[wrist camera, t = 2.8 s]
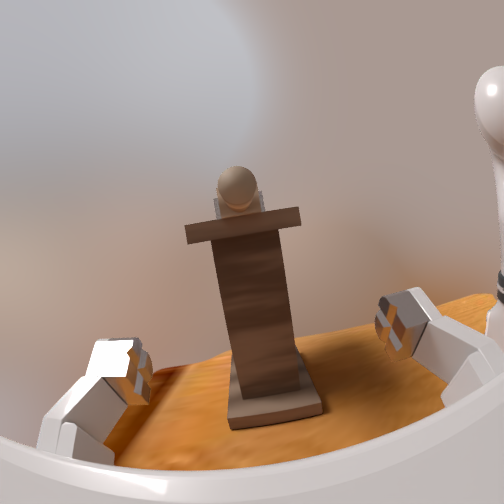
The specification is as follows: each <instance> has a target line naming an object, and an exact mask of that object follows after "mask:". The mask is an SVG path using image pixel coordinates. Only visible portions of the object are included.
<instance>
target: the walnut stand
mask: <svg viewBox="0 0 504 504" xmlns="http://www.w3.org/2000/svg"><path fill="white" fill-rule="evenodd" d="M294 226H301V219H300V213H299V207H292V208H285V209H279V210H272V211H265V212H259V213H253V214H247V215H241V216H235V217H229V218H223V219H217V220H212V221H206V222H201V223H195V224H190V225H185V230H186V237H187V243H188V244H193V243H199V242H204V241H210V240H211V245H212V250H213V256H214V262H215V267H216V273H217V278H218V284H219V289H220V294H221V299H222V305H223V310H224V315H225V320H226V325H227V330H228V335H229V339H230V344H231V349H232V354H233V355H232V360H231V374H230V387H229V401H228V416H227V419H228V423H229V426H230V429H239V428H247V427H255V426H262V425H268V424H274V423H280V422H286V421H291V420H296V419H301V418H305V417H310V416H314V415H319V414H322V402H321V400H320V397H319V395H318V393H317V391H316V389H315V386H314V384H313V382H312V380H311V378H310V376H309V373H308V371H307V369H306V367H305V365H304V362H303V360H302V358H301V356H300V354H299V351H298V349H297V347H296V345H295V341H294V333H293V326H292V319H291V312H290V304H289V297H288V291H287V284H286V277H285V270H284V263H283V257H282V250H281V244H280V238H279V231H278V229H282V228H288V227H294Z"/></svg>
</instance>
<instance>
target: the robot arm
mask: <svg viewBox="0 0 504 504" xmlns="http://www.w3.org/2000/svg"><path fill="white" fill-rule="evenodd" d="M474 105H475V106H474V107H475V117H476V121H477V125H478V127H479V130H480V132H481V134H482V136H483V137H484V139H485V141H486V142H487V144H488V146H489V149H490V153H491V158H492V163H493V169H494V174H495V182H496V190H497V201H498V217H499V229H500V246H501V270H500V272H499V274H498V282H497V287H498V293H497V297H498V301H497V303H496V304H495V306H494V307H492V309H491V310H488V313H487V317H486V321H487V325H486V331H485V334H484V335H483V334H481V333H479V332H478V331H476V330H474V329H472V328H470V327H468V326H466V325H464V324H462V323H460V322H458V321H456V320H454V319H452V318H450V317H447V316H442V315H441V314H440V312H439V311H438V310H437V308H436V307H435V306H434V305H433V303H432V302H431V301H430V299H429V298H428V297H427V296H426V294H425V293H424V292H423V291H422V289H421V288H419V287H415V288H411V289H408V290H404V291H400V292H397V293H393V294H389V295H386V296H382V297H381V298H380V300H379V304H378V306H379V307H380V310H379V311H378V313H377V314H376V317H375V329H376V333H377V335H378V337H379V339H380V340H382V341H383V342H385V343H386V345H385V350H386V352H387V354H388V356H389V358H390V360H391V362H392V363H394V362H397V361H400V360H403V359H406V358H409V357H412V356H413V357H412V358H413V359H414V360H416V361H417V362H419V363H420V364H421V365H423V366H424V367H426V368H427V369H428V370H430V371H431V372H432V373H434V374H435V375H436V376H438V377H439V378H441V379H442V380H443V381H445V382H446V383H447V384H448V386H447V387H446V388H445V390H444V391H443V392H442V394H441V399H442V401H443V403H444V405H445V407H446V408H444V409H442V410H440V411H438V412H436V413H434V414H432V415H430V416H428V417H426V418H424V419H421V420H419V421H417V422H415V423H413V424H410V425H408V426H406V427H403V428H401V429H398V430H396V431H393V432H391V433H388V434H386V435H383V436H380V437H378V438H375V439H372V440H369V441H366V442H363V443H360V444H357V445H354V446H350V447H347V448H344V449H340V450H337V451H333V452H329V453H325V454H321V455H317V456H313V457H308V458H304V459H299V460H294V461H289V462H283V463H277V464H271V465H264V466H257V467H248V468H238V469H226V470H208V471H166V470H148V469H136V468H127V467H118V466H114V453H113V451H112V450H110V449H109V448H107V447H106V446H104V445H103V442H104V441H105V439H106V438H107V436H108V435H109V433H110V432H111V430H112V429H113V427H114V426H115V424H116V423H117V421H118V420H119V418H120V417H121V415H122V414H123V412H124V411H125V410H126V408H127V407H128V406H127V405H149V399H150V391H151V388H150V387H149V385H148V384H147V383H148V382H149V381H150V380H151V378H152V373H153V368H152V361H151V358H150V356H149V354H148V353H147V352H146V351H144V350H142V343H141V341H140V340H139V338H135V337H134V338H111V339H98V340H97V341H96V343H95V346H94V349H93V352H92V355H91V359H90V362H89V365H88V369H87V372H86V376H85V377H81V378H80V379H79V380H78V381H77V382H76V383H75V384H74V385H73V386H72V387H71V388H70V390H69V391H68V392H67V393H66V394H65V395H64V396H63V397H62V398H61V399H60V400H59V401H58V402H57V403H56V404H55V405H54V406H53V407H52V408H51V409H50V411H49V412H48V413H47V414H46V415H45V416H44V417H43V421H42V425H41V429H40V433H39V438H38V442H37V446H36V448H33V447H30V446H27V445H24V444H21V443H18V442H15V441H13V440H10V439H8V438H5V437H2V436H0V504H504V66H498V67H494V68H491V69H489V70H488V71H486V72H485V73H484V74H483V75H482V76H481V78H480V79H479V81H478V83H477V86H476V91H475V99H474Z"/></svg>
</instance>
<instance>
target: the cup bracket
mask: <svg viewBox="0 0 504 504" xmlns="http://www.w3.org/2000/svg"><path fill="white" fill-rule="evenodd" d="M258 193H259V199H260V205H261V212H265V207H264V202H263V196H262V191H258ZM214 205H215V211H216V218H217V219H222V218H221V215H220V209H219V202H218V198H215V199H214Z"/></svg>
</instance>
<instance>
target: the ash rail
mask: <svg viewBox="0 0 504 504" xmlns="http://www.w3.org/2000/svg"><path fill="white" fill-rule="evenodd" d="M216 189H217V196H218V202H219V209H220V215H221V218H222V219H223V218H229V217H235V216H241V215H247V214H253V213H259V212H261V205H260V199H259V193H258V187H257V182H256V180H255V177H254V175H253V174H252V172H251V171H249V170H248V169H246V168H244V167H240V166H234V167H230V168H228V169H227V170H225V171H224V172H223V173H222V174H221V176H220V177H219V180H218V188H216Z"/></svg>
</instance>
